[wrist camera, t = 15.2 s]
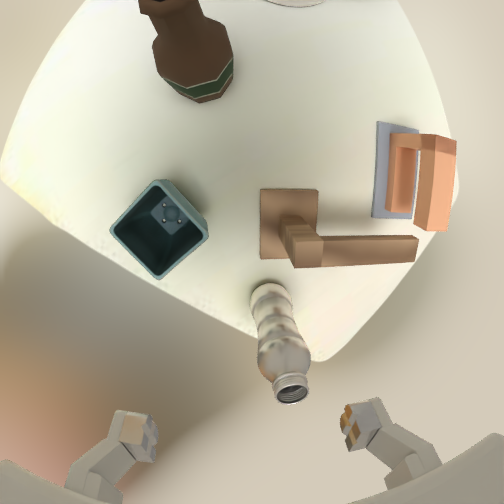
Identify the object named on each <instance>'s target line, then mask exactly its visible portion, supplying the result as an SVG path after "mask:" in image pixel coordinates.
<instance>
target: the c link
mask: <svg viewBox="0 0 504 504" xmlns="http://www.w3.org/2000/svg"><path fill="white" fill-rule="evenodd" d="M417 150H419V151H421V155H420V171H419V183H418V192H417V201H416V209H415V216H414V223H413V224H414V225H416V226H418V227H420V228H422V229H423V230H425V231H447V227H448V222H449V215H450V209H451V202H452V195H453V186H454V176H455V163H456V141H455V140H452V139H449V138H446V137H442V136H439V135H434V134H412V133H390V141H389V164H388V179H387V191H386V201H385V209H386V210H388V211H389V212H396V213H411V208H412V200H413V191H414V181H415V168H416V151H417Z"/></svg>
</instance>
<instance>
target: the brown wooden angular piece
mask: <svg viewBox="0 0 504 504" xmlns="http://www.w3.org/2000/svg"><path fill="white" fill-rule="evenodd" d="M317 208H318V191H317V190H283V189H269V190H260V258H261V259H286V258H290V260H291V262H292V264H293V266H294V268H313V267H334V266H354V265H372V264H389V263H405V262H414V261H415V257H416V252H417V247H418V242H419V239H417V238H416V237H414V236H413V235H366V236H319V235H318V234H317V233H316V223H317Z"/></svg>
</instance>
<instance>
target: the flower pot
mask: <svg viewBox="0 0 504 504" xmlns="http://www.w3.org/2000/svg"><path fill="white" fill-rule="evenodd" d="M164 203H165V204H166V206H165V207H163V204H164ZM163 219H165V220H166V222H163ZM178 220H181V223H178ZM109 231H110V233H111V235H112V236H113V237H114V238H115V239H116V240H117V241H118V242H119V243H120V244H121V245H122V246H123V247H124V248H125V249H126V250H127V251H128V252H129V253H130V254H131V255H132V256H133V257H134V258H135V259H136V260H137V261H138V262H139V263H140V264H141V265H142V266H143V267H144V268H145V269H146V270H147V271H148V272H149V273H150V274H151V275H152V276H153V277H154V278H155V279H157V280H161V279H162V278H163V277H164V276H165V275H167V274H168V273H169V272H170V271H171V270H172V269H173V268H174V267H176V266H177V265H178V264H179V263H180V262H181V261H182V260H184V259H185V258H186V257H187V256H188V255H189V254H190V253H192V252H193V251H194V250H195V249H196V248H198V247H199V246H200V245H201V244H202V243H204V242H205V241H206V240H207V239H208V237H209V235H208V227H207V222H206V220H205V219H204V218H203V216H202V215H201V214H200V213H199V212H198V211H197V210H196V209H195V208H194V207H193V206H192V205H191V204H190V202H189V201H188V200H187V199H186V198H185V197H184V196H183V195H182V194H181V193H180V192H179V190H178V189H177V188H176V187H175V186H174V185H173V184H172V183H171V182H170V181H169V180H154V181H153V182H152V183H151V184H150V185H149V186H148V187H147V188H146V189H145V190H144V191H143V192H142V193H141V194H140V196H139V197H138V198H137V199H136V200H135V201H134V202H133V203H132V204H131V205H130V206H129V207H128V208H127V210H126V211H125V212H124V213H123V214H122V215H121V216H120V217H119V218H118V219H117V220H116V222H115V223H114V224H113V225H112V226H111V227H110V230H109Z"/></svg>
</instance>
